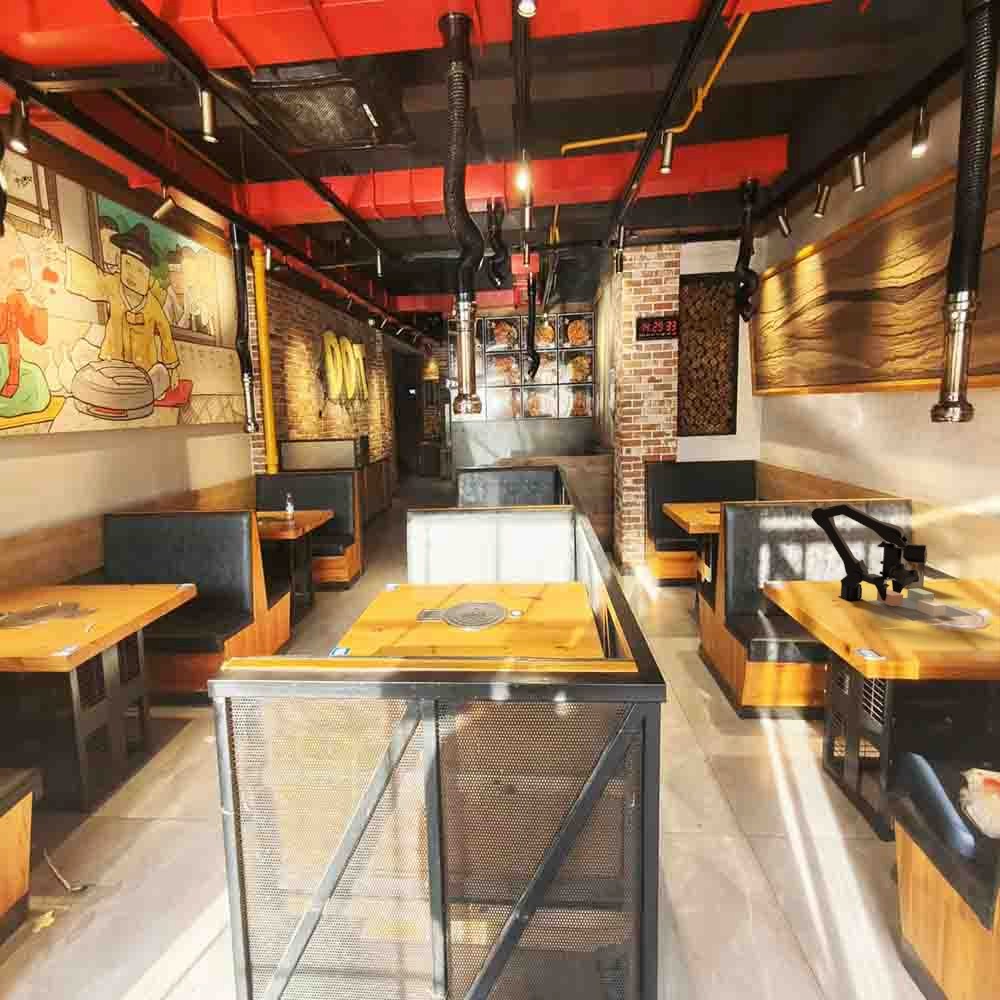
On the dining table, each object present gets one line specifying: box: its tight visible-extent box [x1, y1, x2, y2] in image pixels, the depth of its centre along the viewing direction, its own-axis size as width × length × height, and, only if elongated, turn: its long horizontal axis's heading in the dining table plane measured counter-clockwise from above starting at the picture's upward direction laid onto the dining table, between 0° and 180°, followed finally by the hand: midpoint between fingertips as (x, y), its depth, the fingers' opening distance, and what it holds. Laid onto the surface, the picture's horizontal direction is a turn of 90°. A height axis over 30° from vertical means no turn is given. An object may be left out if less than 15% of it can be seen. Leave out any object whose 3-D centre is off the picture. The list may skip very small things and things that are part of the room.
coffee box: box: [901, 550, 926, 589], centre depth 242 cm, size 9×6×16 cm
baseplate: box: [865, 597, 973, 621], centre depth 216 cm, size 24×22×4 cm
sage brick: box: [906, 587, 935, 603], centre depth 222 cm, size 7×5×4 cm, turn 8°
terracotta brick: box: [876, 588, 904, 606], centre depth 219 cm, size 7×5×4 cm, turn 8°
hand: (889, 600), depth 219 cm, fingers closed on terracotta brick, 5 cm apart
